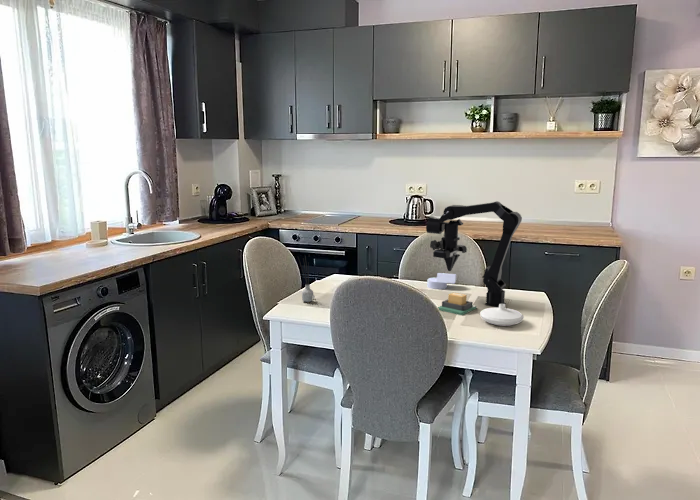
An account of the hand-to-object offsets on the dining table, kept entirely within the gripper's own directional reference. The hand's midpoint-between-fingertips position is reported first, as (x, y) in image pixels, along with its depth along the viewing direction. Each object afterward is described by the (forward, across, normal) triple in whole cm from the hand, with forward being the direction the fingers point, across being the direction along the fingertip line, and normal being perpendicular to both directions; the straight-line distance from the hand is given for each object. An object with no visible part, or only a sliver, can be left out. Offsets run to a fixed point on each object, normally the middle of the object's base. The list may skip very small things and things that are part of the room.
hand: (449, 270), depth 237 cm
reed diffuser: (+12, +43, -44) cm, 63 cm away
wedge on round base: (+12, -14, -12) cm, 22 cm away
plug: (+11, +12, +11) cm, 19 cm away
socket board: (+12, +12, +11) cm, 20 cm away
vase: (+12, +16, +32) cm, 38 cm away
